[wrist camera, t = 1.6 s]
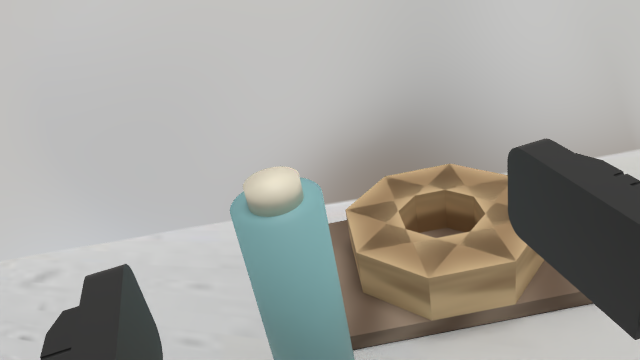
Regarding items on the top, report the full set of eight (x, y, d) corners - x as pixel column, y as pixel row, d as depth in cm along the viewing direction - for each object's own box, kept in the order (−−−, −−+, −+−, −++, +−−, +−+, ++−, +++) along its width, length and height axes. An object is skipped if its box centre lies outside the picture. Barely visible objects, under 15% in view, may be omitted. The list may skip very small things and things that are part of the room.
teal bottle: (298, 464, 28) (221, 215, 21) (294, 400, 32) (226, 167, 24) (371, 449, 28) (322, 195, 21) (359, 387, 32) (314, 151, 24)
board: (306, 358, 34) (303, 345, 34) (295, 241, 46) (293, 230, 45) (641, 293, 35) (643, 279, 34) (547, 193, 46) (548, 181, 45)
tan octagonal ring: (372, 332, 34) (366, 290, 32) (345, 220, 45) (339, 185, 44) (574, 292, 34) (578, 249, 32) (495, 191, 45) (495, 154, 44)
